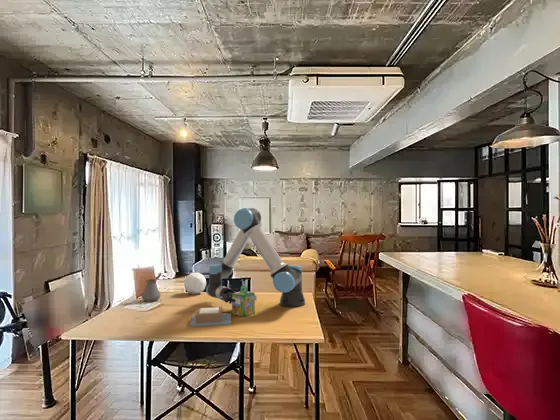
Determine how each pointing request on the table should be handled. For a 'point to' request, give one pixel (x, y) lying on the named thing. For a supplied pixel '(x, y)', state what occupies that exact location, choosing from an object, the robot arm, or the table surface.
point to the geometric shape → (195, 283)
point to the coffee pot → (151, 290)
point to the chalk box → (244, 303)
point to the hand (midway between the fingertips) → (248, 300)
